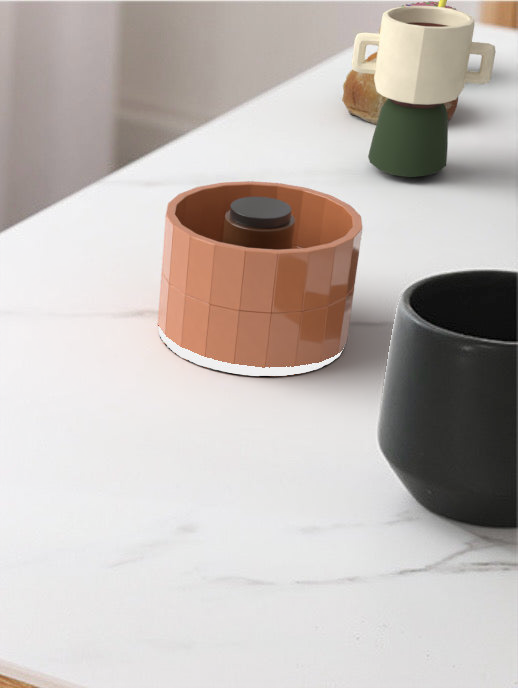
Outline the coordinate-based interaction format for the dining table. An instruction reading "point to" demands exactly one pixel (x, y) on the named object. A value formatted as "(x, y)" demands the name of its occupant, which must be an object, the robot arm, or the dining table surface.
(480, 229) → the dining table surface
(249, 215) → the spice shaker
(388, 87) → the character mug
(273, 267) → the pot
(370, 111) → the bread roll
